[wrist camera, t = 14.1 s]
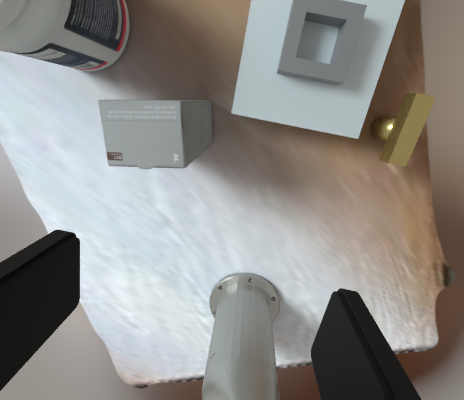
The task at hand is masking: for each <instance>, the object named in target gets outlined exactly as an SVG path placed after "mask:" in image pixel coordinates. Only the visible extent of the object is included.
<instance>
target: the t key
mask: <svg viewBox="0 0 464 400" xmlns="http://www.w3.org/2000/svg"><path fill="white" fill-rule="evenodd" d="M435 99H436V97H432V96H428V95H423V94H418V93H413V94H405V95H404V98H403V100H402V103H401V105H400V108H399V110H398V113H397V116H396V117H380V118H378V119H376V120H375V121H374V122H373V123H372V125H371V129H370V131H371V134H372V136H373V137H375V138H377V139H382V140H387V141H386V144H385V146H384V149H383V151H382V154H381V156H380V159H379V160H382V161H384V162H387V163H390V164H395V165H400V166H404V167H406V166H407V164H408V161H409V159H410V157H411V154H412V152H413V150H414V147H415V145H416V143H417V140H418V138H419V136H420V133H421V131H422V129H423V127H424V124H425V122H426V120H427V117H428V115H429V113H430V110H431V108H432V105H433V103H434V101H435Z"/></svg>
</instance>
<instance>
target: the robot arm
mask: <svg viewBox="0 0 464 400" xmlns="http://www.w3.org/2000/svg"><path fill="white" fill-rule="evenodd" d="M79 299H80V240H79V239H78V238H76V235H75V234H74V233H72V232H67V231H62V230H55V231H53V232H51V233H50V234H48V235H46V236H45V237H43V238H41V239H39V240H38V241H36V242H35V243H33V244H31V245H29V246H28V247H26V248H24V249H23V250H21V251H19V252H17V253H16V254H14V255H12V256H11V257H9V258H7V259H6V260H4V261H2V262H0V391H1V390H2V389H3V387H4V386H5V385H6V384H7V383H8V382H9V381H10V380H11V378H13V376H14V375H15V374H16V373H17V372H18V371H19V370H20V369H21V368H22V366H23V365H24V364H25V363H26V362H27V361H28V360H29V359H30V358H31V357H32V356H33V354H34V353H35V352H36V351H37V350H38V349H39V348H40V347H41V346H42V345H43V343H44V342H45V341H46V340H47V339H48V338H49V337H50V336H51V335H52V334H53V332H54V331H55V330H56V329H57V328H58V327H59V326H60V325H61V324H62V322H63V321H64V320H65V319H66V318H67V317H68V316H69V315H70V314H71V313H72V312H73V311H74V309H75V308H76V307H77V305H78V303H79ZM210 309H211V313H212V314H213V316H214V318H215V321H214V326H213V332H212V337H211V343H210V348H209V354H208V359H207V365H206V370H205V376H204V382H203V389H202V400H279V390H278V379H277V369H276V358H275V348H274V337H273V327H272V322H273V321H274V320H275V318H276V317H277V314H278V311H279V299H278V295H277V292H276V290H275V289H274V287H273V286H272V285H271V284H270V283H269V282H268V281H267V280H265V279H264V278H262V277H260V276H257V275H254V274H250V273H236V274H232V275H229V276H227V277H224V278H223V279H221V280H220V281H219V282H218V283H217V284H216V285H215V286H214V288H213V290H212V293H211V296H210ZM311 358H312V363H313V367H314V371H315V375H316V379H317V383H318V388H319V392H320V396H321V400H421V398H420V396H419V395H418V393H417V391H416V390H415V388H414V386H413V385H412V383H411V381H410V379H409V378H408V376H407V374H406V373H405V371H404V369H403V368H402V366H401V364H400V363H399V361H398V359H397V357H396V356H395V354H394V352H393V351H392V349H391V347H390V346H389V344H388V342H387V341H386V339H385V337H384V336H383V334H382V332H381V330H380V329H379V327H378V325H377V324H376V322H375V320H374V319H373V317H372V315H371V314H370V312H369V310H368V308H367V307H366V305H365V303H364V302H363V300H362V298H361V297H360V295H359V294H358V292H356V291H351V290H346V289H339V290H338V291H337V292H336V291H334V292H333V293H332V295H331V298H330V300H329V303H328V306H327V308H326V311H325V314H324V316H323V319H322V322H321V324H320V327H319V329H318V332H317V335H316V337H315V340H314V343H313V345H312V349H311Z"/></svg>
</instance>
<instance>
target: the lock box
mask: <svg viewBox="0 0 464 400" xmlns="http://www.w3.org/2000/svg"><path fill="white" fill-rule="evenodd" d="M404 2H405V0H251V6H250V11H249V17H248V23H247V28H246V34H245V39H244V45H243V51H242V56H241V62H240V67H239V73H238V79H237V84H236V90H235V95H234V101H233V107H232V112H231V114H236V115H241V116H246V117H251V118H256V119H261V120H266V121H271V122H276V123H281V124H286V125H291V126H296V127H301V128H306V129H311V130H316V131H321V132H326V133H331V134H336V135H341V136H346V137H351V138H356V139H358V138H359V135H360V132H361V129H362V126H363V123H364V120H365V117H366V114H367V111H368V108H369V105H370V102H371V99H372V96H373V93H374V90H375V88H376V85H377V82H378V79H379V76H380V73H381V70H382V67H383V64H384V61H385V58H386V55H387V52H388V49H389V46H390V43H391V40H392V37H393V34H394V31H395V28H396V25H397V22H398V19H399V17H400V14H401V11H402V8H403V5H404Z"/></svg>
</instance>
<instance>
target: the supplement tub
mask: <svg viewBox="0 0 464 400" xmlns="http://www.w3.org/2000/svg"><path fill="white" fill-rule="evenodd" d="M129 28H130V21H129V13H128V9H127V5H126V2H125V0H0V51H4V52H11V53H15V54H19V55H23V56H27V57H31V58H35V59H39V60H43V61H47V62H51V63H55V64H59V65H63V66H67V67H71V68H74V69H77V70H82V71H97V70H101V69H104V68H106V67H108V66H110V65H111V64H113V63H114V62H115V61H116V60H117V59H118V58H119V57H120V56H121V54H122V52H123V51H124V49H125V46H126V44H127V41H128V36H129Z"/></svg>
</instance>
